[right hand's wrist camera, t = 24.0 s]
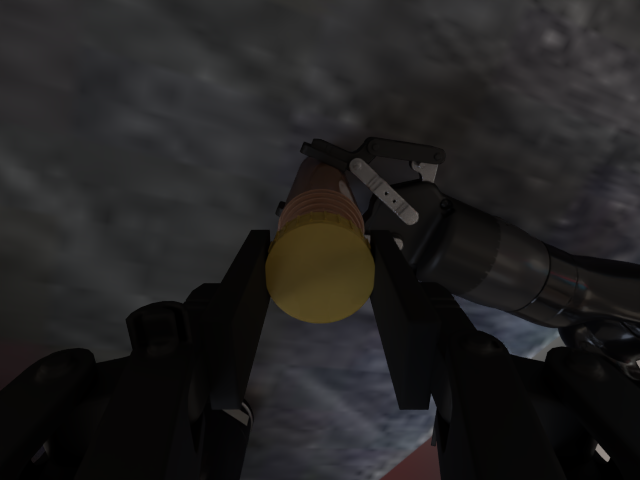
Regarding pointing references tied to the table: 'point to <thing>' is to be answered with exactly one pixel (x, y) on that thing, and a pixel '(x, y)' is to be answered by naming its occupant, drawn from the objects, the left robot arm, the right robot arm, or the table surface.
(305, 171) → the bottle
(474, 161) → the table surface
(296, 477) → the table surface
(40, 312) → the table surface
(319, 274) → the cap
